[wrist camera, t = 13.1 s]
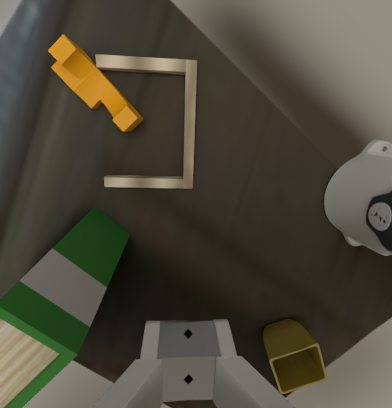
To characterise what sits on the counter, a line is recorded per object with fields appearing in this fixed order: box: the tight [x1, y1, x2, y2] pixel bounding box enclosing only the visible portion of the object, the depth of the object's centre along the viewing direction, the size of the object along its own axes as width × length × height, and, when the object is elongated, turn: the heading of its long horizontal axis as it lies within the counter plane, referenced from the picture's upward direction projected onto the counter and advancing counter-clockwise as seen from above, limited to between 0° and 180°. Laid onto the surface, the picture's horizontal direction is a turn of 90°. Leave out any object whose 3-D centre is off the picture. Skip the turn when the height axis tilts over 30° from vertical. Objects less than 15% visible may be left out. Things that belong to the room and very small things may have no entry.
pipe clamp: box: [48, 35, 144, 132], centre depth 34 cm, size 12×4×6 cm, turn 41°
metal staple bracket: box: [95, 54, 197, 189], centre depth 38 cm, size 14×18×2 cm
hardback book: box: [0, 206, 130, 408], centre depth 33 cm, size 18×7×24 cm, turn 135°
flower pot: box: [263, 318, 327, 394], centre depth 48 cm, size 9×9×9 cm
